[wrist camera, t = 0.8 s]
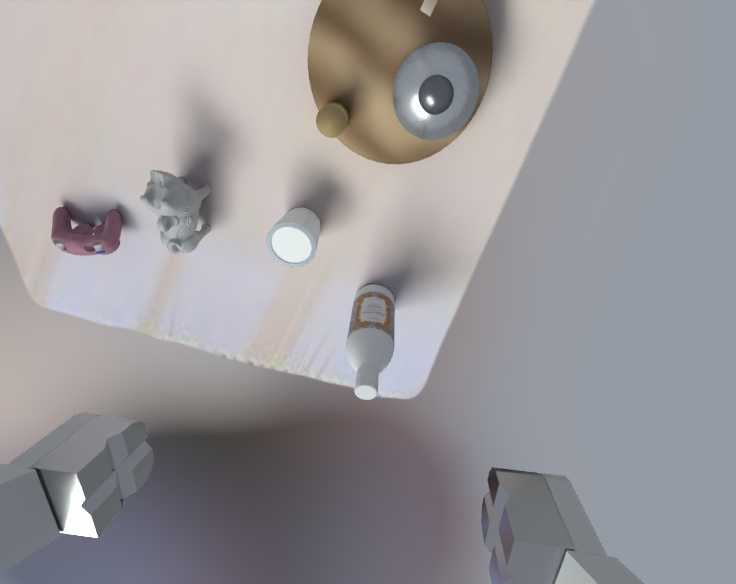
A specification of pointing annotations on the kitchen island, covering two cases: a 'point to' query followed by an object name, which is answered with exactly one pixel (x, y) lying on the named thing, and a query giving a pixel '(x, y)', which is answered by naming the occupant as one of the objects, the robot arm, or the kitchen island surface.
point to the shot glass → (294, 237)
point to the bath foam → (370, 337)
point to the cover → (435, 90)
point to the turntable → (385, 67)
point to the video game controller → (86, 234)
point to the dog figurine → (176, 210)
